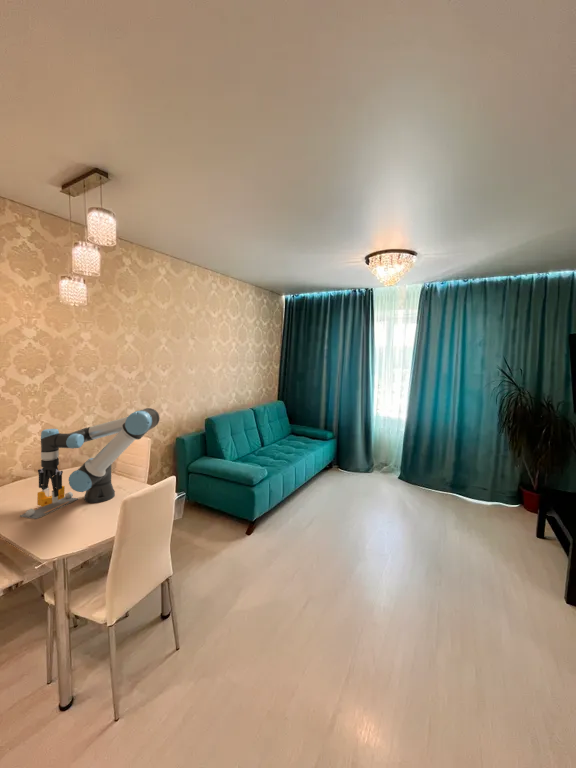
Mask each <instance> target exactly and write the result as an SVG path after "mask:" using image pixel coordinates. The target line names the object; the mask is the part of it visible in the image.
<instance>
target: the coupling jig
mask: <svg viewBox="0 0 576 768" xmlns="http://www.w3.org/2000/svg"><path fill="white" fill-rule="evenodd" d="M78 499H79V498H78V497H73V492H72V491H68V492H66V493H64V498H62V499H59V500H58V502H55V503H52V504H49V505H46V506H38V507H36V508H30V509H27V510H26V511H25V512H24V513H23V514H20V515H19V517H20V518H27V519H33V520H38V519H40V518H42V517H44V516H46V515H48V514H51V513H53V512H54V511H57V510H59V509H61V508H63V507H66V506H67V505H69V504H71V503H73V502H75V501H78Z"/></svg>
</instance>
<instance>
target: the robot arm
mask: <svg viewBox="0 0 576 768" xmlns="http://www.w3.org/2000/svg"><path fill="white" fill-rule="evenodd" d="M159 422H160V413H159V412H158V411H157V410H156V409H154V408H151V407H146V408H142V409H140V410H136V411H134V412H132V413H130V414H129V415H128V416H125V417H122V418H118V419H115V420H114V419H113V420H110V421H107V422H103V423H100V424H96V425H93V426H89V427H84V428H81V429H79V430H76V431H73V432H70V433H60V432H59V429H57V428H46V429H43V430H41V432H40V459H41V461H40V466H41V468H38V469H37V473H38V488H39V489H41V490H42V492H45V495H46V496H47V497H49V496H50V488H49V483H50V481H51V485H52V489H53V490H51V496H52V503H55V502H58V490H60V489H62V486H63V473H64V472H63V470H59V468H58V466H59V464H60V458H59V457H60V449H80V448H81V447H82V446H84V443H86V442H90V441H93V440H97V439H101V438H104V437H105V438H106V437H108V436H112V435H115V436H114V437H113V438H112V439H111V440H109V442H108V443H106V445H105V446H104V447H103V448H102V449H101V450H100V451H99V452H98V453H97V454H96V455H95V456H94V457H90V458H89V459H87V460H86V461H85V462H83V464H82V465H81V466H80V467H79V468H78V469H76V470H74V471H73V472H72V473H71V474H70V475H69V476H68V484H69V486H70V488H71V489H72V490H73V491H75V492H78V493H83V492H85V494H84V498H83V499H84V501H85V502H86V503H92V504H95V503H96V504H97V503H101V502H107V501H110V500H112V499H113V498H114V497H115V495H116V491H115V489H114V486H113V483H112V465H113V463H114V462H115V461H116V460H118V458H119V457H120V456H121V455H122V454H123V453H124V452H125V450H127V449H128V448H129V447H130V446H131V445H132V444H133V443H134V442H135V440H137V441H138V440H139V441H140V440H141V439H142V438H143V437H144V436H145V435H146V434H147V433H148V432H149V431H150V430H152V429H154V428H155V427H157V425H158V424H159Z"/></svg>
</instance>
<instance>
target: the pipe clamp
mask: <svg viewBox="0 0 576 768" xmlns="http://www.w3.org/2000/svg"><path fill="white" fill-rule="evenodd" d="M64 497H65V486H64V485H62V489H60V490H58V500H59V499H62V498H64ZM36 504H37V506H38V507H40V506H46V505H49V504H52V495H49V497H47V496H46V495H45V492H42V491H38V492H37V503H36Z"/></svg>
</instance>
